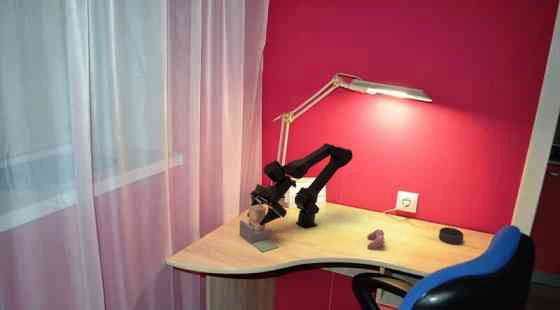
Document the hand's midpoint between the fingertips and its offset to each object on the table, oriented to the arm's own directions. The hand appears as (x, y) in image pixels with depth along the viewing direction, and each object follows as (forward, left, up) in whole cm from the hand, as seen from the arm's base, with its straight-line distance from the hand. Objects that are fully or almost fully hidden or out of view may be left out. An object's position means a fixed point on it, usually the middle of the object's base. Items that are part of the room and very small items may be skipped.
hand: (254, 220), depth 151 cm
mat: (0, +9, -7) cm, 11 cm away
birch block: (-1, 0, -5) cm, 5 cm away
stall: (-1, 0, -7) cm, 7 cm away
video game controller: (-37, +28, -7) cm, 47 cm away
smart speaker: (-68, +41, -7) cm, 79 cm away
